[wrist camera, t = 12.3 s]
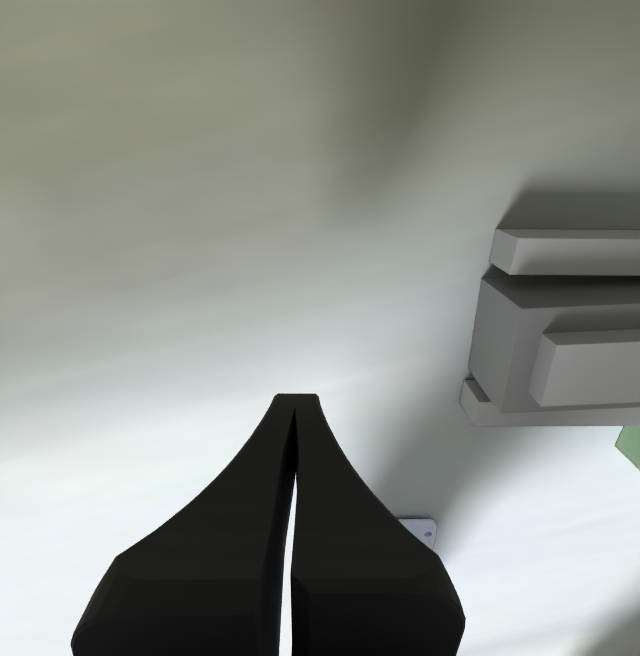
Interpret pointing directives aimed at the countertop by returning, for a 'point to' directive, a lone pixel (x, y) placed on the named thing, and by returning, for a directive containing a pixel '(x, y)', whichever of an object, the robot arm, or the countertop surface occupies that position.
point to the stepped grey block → (558, 342)
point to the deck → (562, 259)
